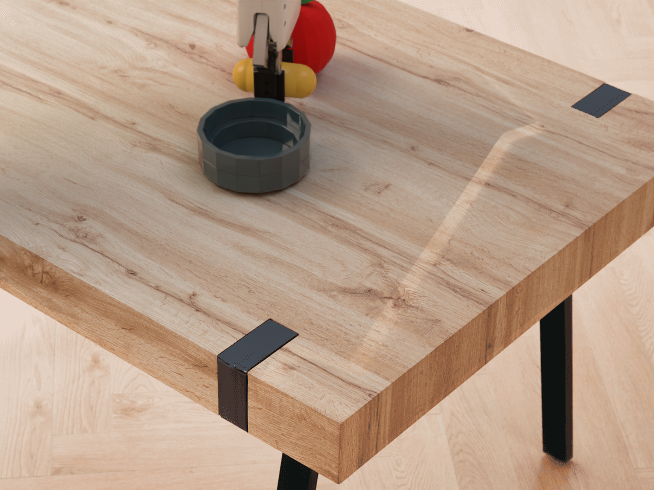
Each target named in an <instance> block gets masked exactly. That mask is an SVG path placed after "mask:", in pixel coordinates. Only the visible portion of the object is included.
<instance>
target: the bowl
mask: <svg viewBox="0 0 654 490" xmlns="http://www.w3.org/2000/svg"><path fill="white" fill-rule="evenodd" d="M196 140H197V153H198V164H199V166H200V168H201V171H202V173H203V175H204V176H205V177H206V178H207V179H208V180H210V182H213V184H215V185H216V186H217V187H221V188H224V189H227V190H230V191H234V192H237V193H249V194H251V193H252V194H263V193H264V194H265V193H269V192H275V191H280V190H284V189H285V188H288V187H289V186H291V185H293V184H295V183H298V182H299V181H301V179H302V178H303V177H304V176H305V175H306V174H307V173H308V172H309V171H310V167H311V162H312V161H311V160H312V123H311V122H310V119H309V118H308V116H307V115H306V113H305V112H304V111H302V110H301V109H299V108H298V107H297V106H294V105H293V104H292V103H290V102H286V101H285V102H282V101H279V100H275V99H271V98H256V97H254V96H249V97H242V98H236V99H230V100H229V99H228V100H226V101H224V102H221V103H219V104H217V105H214V106H212V107H211V108H210V109H208V110H207V111H206V112H204V114H203V115H202V116H200V118H199V120H198V124H197V127H196Z"/></svg>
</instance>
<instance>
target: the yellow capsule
mask: <svg viewBox="0 0 654 490" xmlns="http://www.w3.org/2000/svg"><path fill="white" fill-rule="evenodd" d="M252 61H253V58H249V57H247V58H243V59H241V60H239V61H238V62H237V63H236V64H235V66H234V67H233V70H232V80H233V83H234V85H235V86H236V88H238V89H239V90H240V91H242V92H245V93H250V94H254V76H253V65H252ZM282 70H285V98H291V99H296V100H297V99H301V100H302V99H306V98H308V97H310V96H311V95H312V94H313V93H314V92H315V90H316V87H317V83H318V81H317V80H318V79H317V75H315V73H314V72H313V70H312V69H311V68H310V67H308V66H306V65H303V64H296V63H288V62H282Z"/></svg>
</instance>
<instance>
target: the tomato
mask: <svg viewBox="0 0 654 490" xmlns="http://www.w3.org/2000/svg"><path fill="white" fill-rule="evenodd" d="M253 44H254V33H253V35H252V37H251V40H250V42H249V44H248V46H247V47H244V48H245V51H246V54H247V56H248V58H253ZM336 44H337V30H336V25H335V23H334V20H333V18H332V16H331V14H330V13H329V11H328V10H327V8H326V7H325V5H323V4H322V3H321V2H320V1H318V0H301V8H300V13H299V16H298V19H297V22H296V24H295V26H294V29H293V45H292V48H287V49H290V50H293V63H296V64H303V65H306V66H308V67H310V68H311V69H312V70H313V72H314V73H315V76H317V74H320V72H321V71H322V70H324V69H325V67H326V66H327V65H328V64H329V63H330V62H331V60H332V59H333V57H334V54H335V51H336Z"/></svg>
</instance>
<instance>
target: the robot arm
mask: <svg viewBox="0 0 654 490" xmlns="http://www.w3.org/2000/svg"><path fill="white" fill-rule="evenodd" d="M300 8H301V0H236V44H237V46H238V47H239V48H245V47H247V46H248V44H249V42H250V40H251V37H252V35H253V33H254V44H253V61H252V65H253V76H254V93H253V97H256V98H271V99H275V100H279V101H282V102H286V97H285V70H282V62H288V63H293V50H290V49H287V48H292V45H293V29H294V26H295V24H296V22H297V19H298V16H299V13H300Z"/></svg>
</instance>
